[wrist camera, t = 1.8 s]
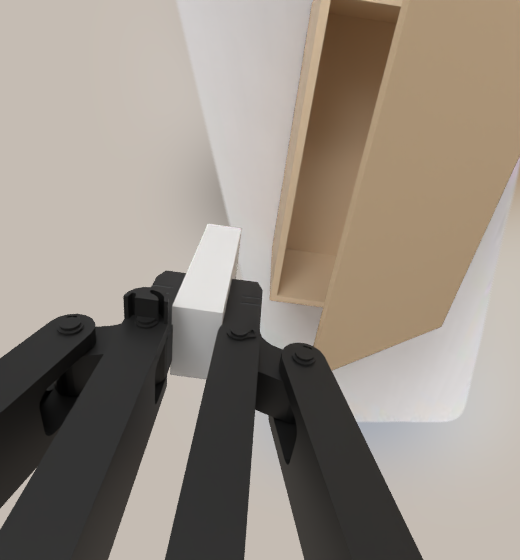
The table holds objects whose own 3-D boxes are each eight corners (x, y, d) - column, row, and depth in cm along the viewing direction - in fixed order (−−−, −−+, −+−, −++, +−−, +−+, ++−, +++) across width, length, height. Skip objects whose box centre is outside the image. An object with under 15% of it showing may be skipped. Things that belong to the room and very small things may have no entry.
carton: (312, 2, 34) (324, -18, 24) (491, 30, 34) (572, 21, 25) (271, 249, 46) (269, 300, 36) (405, 267, 46) (436, 323, 37)
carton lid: (413, -43, 16) (421, -44, 16) (574, 21, 25) (581, 21, 24) (305, 375, 28) (309, 379, 28) (437, 324, 37) (441, 326, 36)
